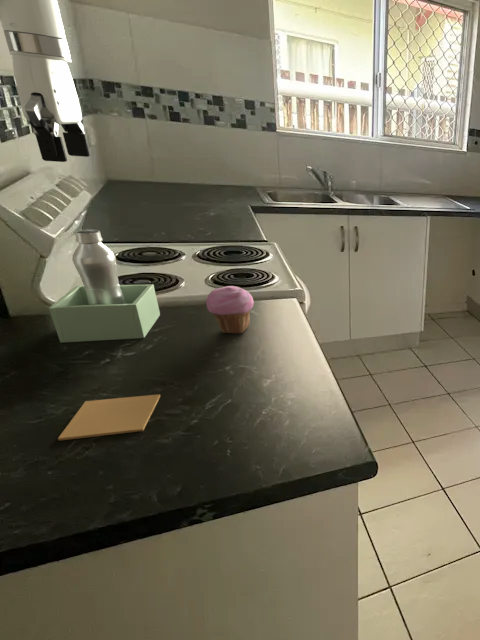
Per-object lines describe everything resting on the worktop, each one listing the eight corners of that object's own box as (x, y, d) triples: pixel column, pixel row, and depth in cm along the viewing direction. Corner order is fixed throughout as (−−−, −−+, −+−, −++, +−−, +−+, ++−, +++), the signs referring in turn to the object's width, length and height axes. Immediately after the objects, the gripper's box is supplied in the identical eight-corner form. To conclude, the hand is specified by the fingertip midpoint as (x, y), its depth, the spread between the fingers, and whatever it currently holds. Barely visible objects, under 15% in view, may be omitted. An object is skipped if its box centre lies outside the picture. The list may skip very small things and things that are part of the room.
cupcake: (250, 338, 101) (244, 294, 97) (205, 339, 99) (196, 293, 95) (261, 322, 109) (256, 280, 104) (219, 322, 107) (212, 280, 103)
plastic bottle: (133, 329, 99) (109, 234, 91) (91, 334, 95) (62, 236, 87) (134, 318, 104) (110, 227, 95) (94, 323, 100) (66, 228, 92)
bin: (60, 342, 92) (48, 307, 89) (85, 317, 102) (75, 286, 99) (144, 337, 97) (136, 304, 94) (160, 314, 107) (153, 284, 104)
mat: (58, 440, 67) (57, 438, 67) (86, 403, 75) (85, 401, 75) (143, 431, 71) (142, 428, 70) (160, 396, 79) (160, 394, 79)
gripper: (36, 50, 84) (63, 152, 91) (-23, 38, 70) (15, 161, 77) (88, 56, 87) (111, 155, 94) (42, 47, 72) (73, 165, 79)
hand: (68, 158), depth 85 cm, fingers open, 9 cm apart
